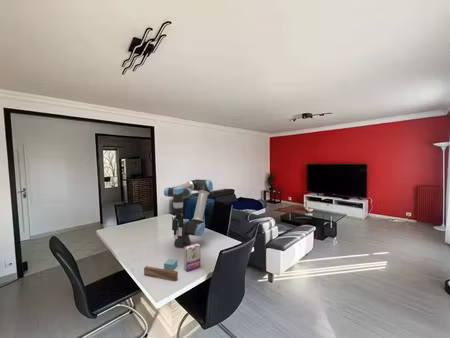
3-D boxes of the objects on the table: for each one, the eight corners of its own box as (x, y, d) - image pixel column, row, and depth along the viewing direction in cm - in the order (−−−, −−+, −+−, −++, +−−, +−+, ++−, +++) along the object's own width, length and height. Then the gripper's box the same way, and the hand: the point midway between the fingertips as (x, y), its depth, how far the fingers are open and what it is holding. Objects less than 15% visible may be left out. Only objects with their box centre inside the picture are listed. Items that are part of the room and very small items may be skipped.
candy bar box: (197, 264, 150) (197, 242, 150) (200, 267, 146) (200, 245, 146) (183, 269, 144) (183, 246, 144) (186, 272, 140) (186, 248, 139)
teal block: (168, 265, 150) (168, 259, 150) (177, 266, 148) (177, 260, 148) (164, 269, 143) (163, 263, 143) (173, 271, 141) (173, 264, 141)
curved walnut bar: (146, 273, 138) (146, 266, 138) (177, 279, 131) (177, 271, 131) (144, 275, 135) (144, 267, 135) (175, 281, 129) (175, 273, 129)
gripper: (179, 204, 164) (179, 232, 165) (166, 209, 146) (166, 241, 147) (188, 205, 162) (187, 233, 163) (176, 210, 144) (175, 242, 144)
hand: (177, 237), depth 155 cm, fingers open, 6 cm apart
